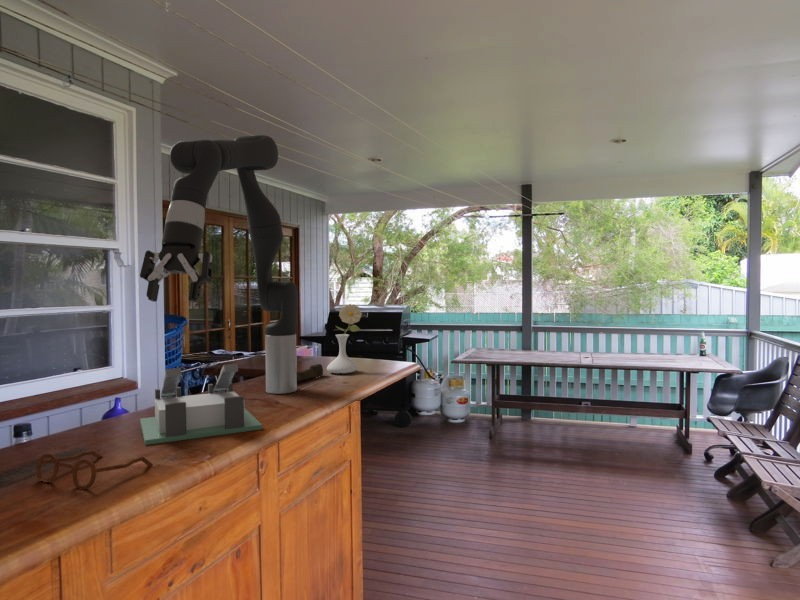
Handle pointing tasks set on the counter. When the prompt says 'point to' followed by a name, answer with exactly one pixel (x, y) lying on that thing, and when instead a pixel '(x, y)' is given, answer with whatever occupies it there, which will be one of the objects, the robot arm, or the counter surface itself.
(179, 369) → the strap
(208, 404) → the base
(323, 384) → the counter surface
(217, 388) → the strap
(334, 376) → the counter surface
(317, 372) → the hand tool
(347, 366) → the flower in vase
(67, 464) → the glasses
